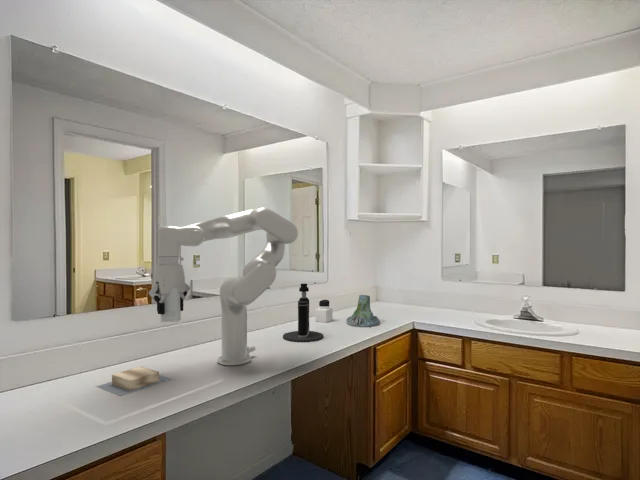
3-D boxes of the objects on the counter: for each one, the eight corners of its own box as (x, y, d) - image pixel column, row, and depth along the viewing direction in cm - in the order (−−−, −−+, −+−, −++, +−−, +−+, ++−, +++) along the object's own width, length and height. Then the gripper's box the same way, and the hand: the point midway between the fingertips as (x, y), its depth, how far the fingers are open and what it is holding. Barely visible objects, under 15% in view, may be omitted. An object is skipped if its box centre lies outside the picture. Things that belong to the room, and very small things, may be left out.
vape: (325, 333, 203) (324, 282, 203) (321, 342, 184) (321, 287, 184) (286, 332, 205) (286, 282, 205) (279, 341, 186) (279, 286, 186)
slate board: (148, 373, 143) (148, 371, 143) (173, 381, 135) (173, 378, 135) (95, 389, 128) (95, 386, 128) (120, 398, 120) (120, 396, 120)
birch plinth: (141, 375, 139) (141, 366, 139) (159, 381, 133) (159, 371, 133) (112, 383, 130) (112, 374, 130) (129, 390, 125) (129, 380, 125)
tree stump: (340, 326, 221) (341, 293, 225) (352, 328, 238) (353, 297, 243) (373, 327, 213) (374, 293, 218) (383, 329, 231) (384, 297, 235)
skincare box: (181, 319, 147) (180, 285, 147) (178, 322, 142) (177, 287, 142) (163, 320, 146) (162, 286, 146) (159, 322, 142) (159, 287, 142)
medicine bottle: (332, 320, 234) (332, 299, 234) (326, 322, 228) (326, 301, 228) (322, 319, 238) (321, 298, 238) (315, 321, 232) (315, 300, 232)
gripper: (183, 259, 153) (184, 307, 154) (140, 262, 139) (141, 315, 139) (197, 260, 149) (197, 309, 149) (153, 263, 135) (154, 317, 135)
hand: (170, 311), depth 144 cm, fingers closed on skincare box, 6 cm apart
